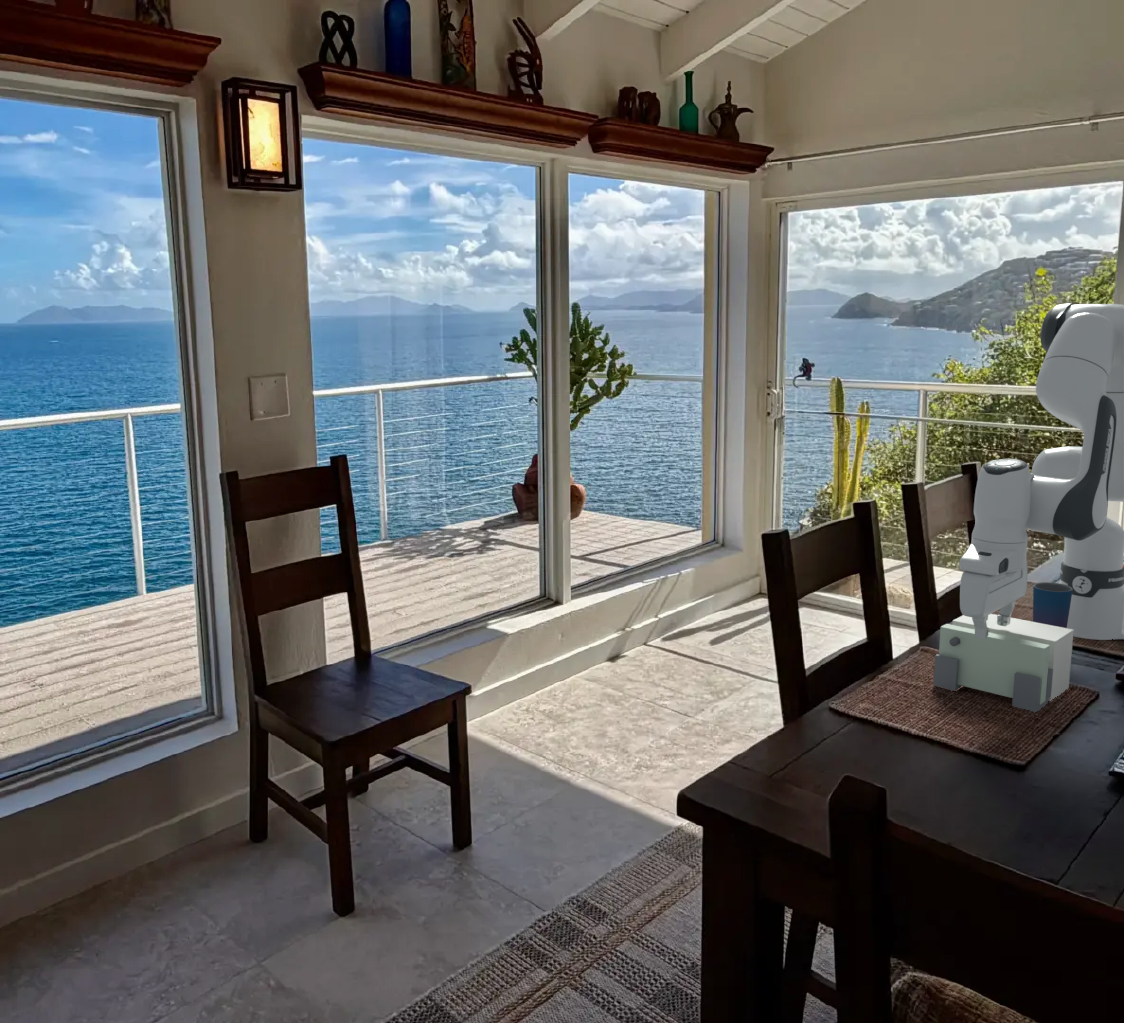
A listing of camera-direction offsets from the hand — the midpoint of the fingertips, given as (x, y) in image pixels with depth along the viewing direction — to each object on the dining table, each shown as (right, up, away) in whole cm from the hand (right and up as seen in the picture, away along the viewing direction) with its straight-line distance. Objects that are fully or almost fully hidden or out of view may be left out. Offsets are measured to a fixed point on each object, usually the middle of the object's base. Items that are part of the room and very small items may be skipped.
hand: (992, 631), depth 177 cm
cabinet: (+4, -11, +6) cm, 13 cm away
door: (0, -11, +2) cm, 11 cm away
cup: (+18, -8, +19) cm, 28 cm away
